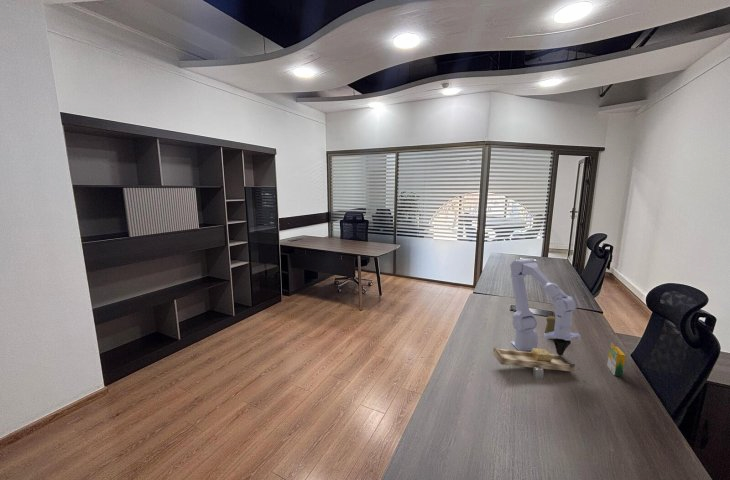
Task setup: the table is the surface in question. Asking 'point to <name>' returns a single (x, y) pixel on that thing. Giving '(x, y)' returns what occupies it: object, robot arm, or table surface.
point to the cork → (550, 324)
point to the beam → (532, 360)
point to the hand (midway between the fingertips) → (559, 353)
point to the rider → (541, 355)
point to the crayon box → (616, 360)
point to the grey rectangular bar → (538, 372)
